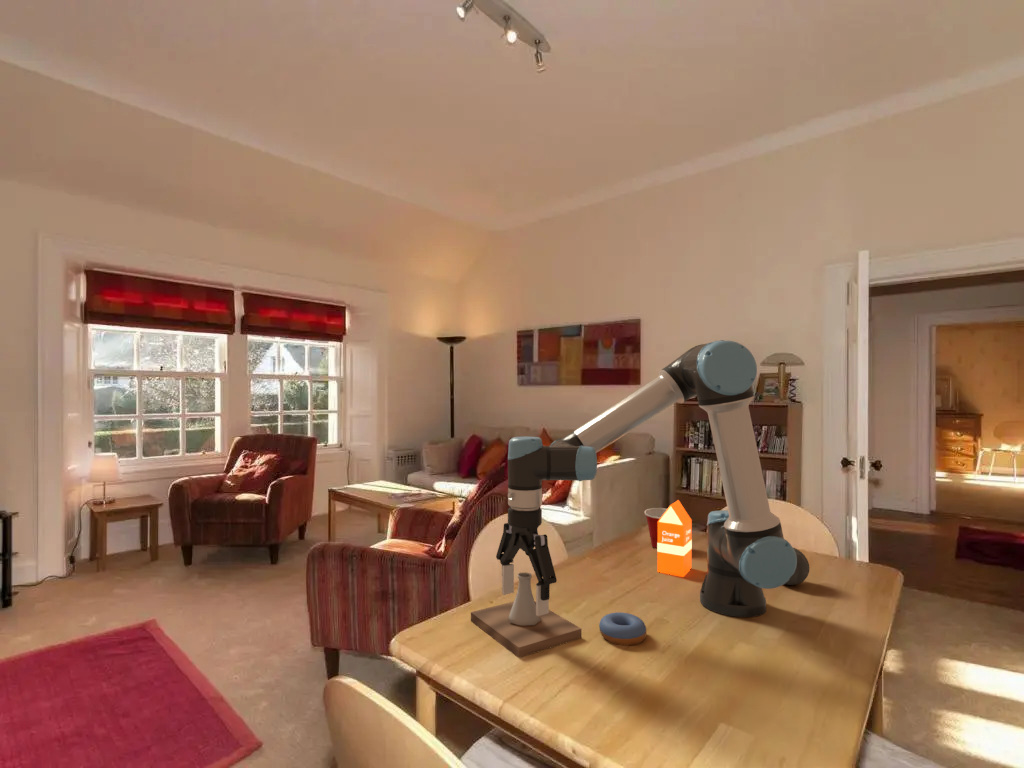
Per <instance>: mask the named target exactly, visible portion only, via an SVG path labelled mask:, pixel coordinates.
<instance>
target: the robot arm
mask: <svg viewBox="0 0 1024 768" xmlns="http://www.w3.org/2000/svg"><path fill="white" fill-rule="evenodd" d="M757 367H758V366H757V362H756V359H755V357H754V355H753V354H752V352H751V351H750V350H749V349H748V348H747V347H746V346H744V345H743V344H742V343H739V342H737V341H733V340H723V339H720V340H714V341H711V342H707V343H704V344H703V343H701V344H699V345H695V346H693V347H691V348H689V349H687V350H686V351H685V352H684V353H682V354H681V355H680V356H679V357H677V358H675V360H673V361H671V362H670V363H669V364H668V365H666V366H665V367H663V368H662V369H660V370H659V371H658V376H657V377H656V378H654V379H652V380H651V381H650V382H647V383H646V384H644V385H643V386H641V387H640V388H639V389H637V390H635V391H634V392H632V393H631V394H629V395H628V396H626V397H625V398H622V399H621V400H620V401H618V402H617V403H615V404H613V405H612V406H611V407H609V408H607V409H605V410H604V411H602V412H601V413H600V414H598V415H596V416H595V417H593V418H591V419H590V420H589V421H587V422H586V423H584V424H582V425H581V426H579V427H578V428H576V429H575V430H573V432H571V433H569V434H567V435H565V436H564V437H563V438H558V439H556V440H554V441H553V442H552V443H550V445H547V446H546V445H544V444H543V440H542V438H541V437H539V436H538V437H537V436H525V435H524V436H514V437H511V439H509V441H508V451H507V504H508V506H509V508H507V522H505V523H504V524H503V529H502V530H503V531H502V532H503V533H502V535H501V539H500V542H499V545H498V549H497V552H496V560H497V561H498V560H499V563H500V564H501V576H502V577H501V578H502V579H501V585H502V586H501V594H502V595H503V596H505V595H510V594H513V593H515V592H514V591H515V588H514V587H515V586H514V585H515V581H514V580H515V565H514V558H515V557H516V556H517V554H518V552H519V551H520V550H522V552H524V553H525V556H527V557H529V561H530V564H531V566H532V569H533V571H534V574H535V577H536V578H537V579H536V580H537V583H536V585H535V602H536V615H537V616H540V615H544V614H548V613H549V610H550V607H549V603H550V602H549V600H550V594H551V593H550V591H551V590H550V586H551V585H552V584H556V583H557V581H558V580H557V576H556V572H555V568H554V565H553V561H552V556H551V553H550V549H549V541H548V536H547V534H539V531H538V528H539V527H540V526H541V525H542V523H543V522H542V521H543V519H542V518H543V517H542V514H543V510H542V506H543V487H542V486H543V485H542V482H543V481H579V482H583V481H593V480H594V479H595V478H596V477H597V472H598V458H597V453H599V452H601V451H602V450H603V449H605V448H607V447H608V446H610V445H612V444H613V443H615V442H617V441H618V440H619V439H621V438H622V437H624V436H626V435H627V434H628V433H630V432H632V431H634V430H635V429H636V428H639V427H640V426H641V425H642V424H644V423H646V422H648V421H649V420H651V419H652V418H654V417H655V416H657V415H659V414H660V413H662V412H663V411H665V410H667V409H668V408H669V407H671V406H672V405H674V404H675V403H679V404H683V403H685V402H686V401H688V400H690V399H692V398H694V397H697V404H698V407H699V408H701V409H702V410H703V411H705V412H706V413H707V415H708V420H709V421H708V422H709V426H710V431H711V435H712V440H713V446H714V450H715V454H716V458H717V459H716V460H717V465H718V468H719V474H720V478H721V484H722V487H723V492H724V498H725V502H726V507H727V510H725V509H724V510H723V509H722V510H712V511H710V512H709V513H708V515H707V523H706V529H707V530H706V531H707V532H706V533H707V534H706V535H707V537H706V538H707V542H706V543H707V544H706V545H707V547H706V548H707V551H706V552H707V566H706V567H707V568H706V569H707V570H706V574H705V576H704V579H703V582H702V585H701V588H700V590H699V602H700V604H701V605H702V606H703V607H704V608H706V609H708V610H710V611H713V612H715V613H718V614H721V615H723V616H724V615H725V616H729V617H730V616H731V617H736V618H754V617H759V616H762V615H764V614H765V613H766V612H767V600H766V597H765V595H764V591H763V589H765V590H766V589H767V590H769V589H771V590H772V589H776V588H779V587H782V586H783V585H786V584H785V583H786V582H787V581H788V580H789V578H790V577H791V576H792V575H793V574H794V572H795V570H796V566H797V556H796V553H795V550H794V549H793V548H794V547H793V546H792V544H791V543H790V542H789V541H788V540H786V539H785V538H784V533H783V528H782V523H781V520H780V518H779V517H778V516H777V515H775V514H774V513H773V512H772V511H771V506H770V504H769V497H768V495H767V494H768V493H767V490H766V483H765V479H764V475H763V469H762V465H761V464H762V463H761V460H760V456H759V450H758V446H757V441H756V437H755V432H754V427H753V421H752V417H751V411H750V408H749V407H750V406H749V405H750V404H751V402H752V401H753V400H754V398H755V395H754V391H753V383H754V381H755V380H756V379H757V378H756V377H757V373H758V368H757Z"/></svg>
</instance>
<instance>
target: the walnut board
mask: <svg viewBox="0 0 1024 768" xmlns="http://www.w3.org/2000/svg"><path fill="white" fill-rule="evenodd" d="M513 603H514V601H510V602H506V603H501V604H498V605H494V606H490V607H486V608H483V609H482V608H481V609H478V610H474V611H471V612H470V622H471V623H473V624H474V625H475V626H476V627H478V628H480V629H481V630H482V631H483V632H484V633H486V634H487V635H488V636H490V637H491V638H492V639H493V640H495V641H497V642H498V644H501V645H502V647H504V648H505V649H506V650H508V651H509V652H511V654H513V655H514V656H516V657H517V658H519V659H520V658H522V657H525V656H529V655H531V654H534V653H538V651H539V652H541V650H542V651H545V650H548V649H551V648H554V646H555V647H557V645H558V646H561V645H564V644H567V643H570V642H573V640H574V641H577V640H579V638H580V639H582V628H581V627H579V626H578V625H577V624H575V623H572V622H571V621H569V620H567V619H566V618H564V617H562V616H560V615H559V614H557V613H556V612H554V611H552V610H550V609H549V613H548V614H544V615H540V621H539V622H538V623H537V624H535V625H527V626H520V625H516V624H513V623H510V621H509V614H510V611H511V609H512V606H513ZM535 605H536V601H535ZM576 639H577V640H576ZM566 642H567V643H566ZM563 643H564V644H563ZM560 644H561V645H560ZM550 647H551V648H550ZM544 649H545V650H544Z"/></svg>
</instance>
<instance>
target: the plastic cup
mask: <svg viewBox="0 0 1024 768" xmlns="http://www.w3.org/2000/svg"><path fill="white" fill-rule="evenodd" d="M667 509H668V508H664V507H652V508H647V509H645V510H644V516H646V520H647V526H648V531H649V538H650V544H651V546H652V547H651V548H653V547H654V549H655V548H656V550H657V543H658V521H659V519H660V518H661V517H662V515H663V514H664V513H665V511H666V510H667Z"/></svg>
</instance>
